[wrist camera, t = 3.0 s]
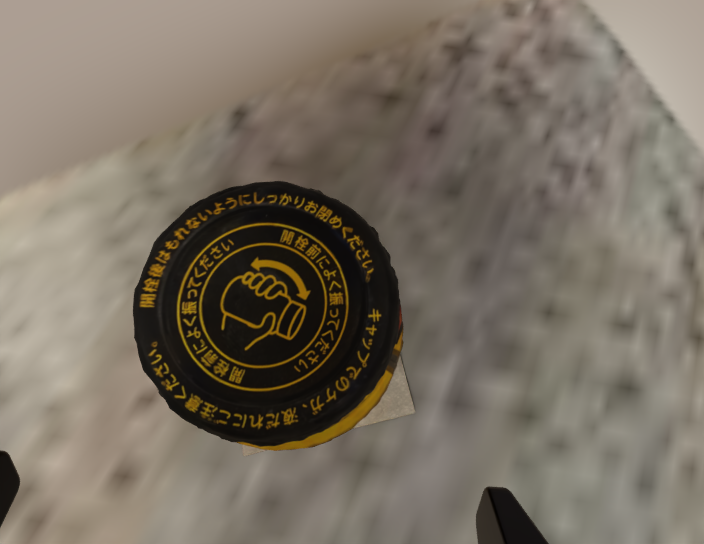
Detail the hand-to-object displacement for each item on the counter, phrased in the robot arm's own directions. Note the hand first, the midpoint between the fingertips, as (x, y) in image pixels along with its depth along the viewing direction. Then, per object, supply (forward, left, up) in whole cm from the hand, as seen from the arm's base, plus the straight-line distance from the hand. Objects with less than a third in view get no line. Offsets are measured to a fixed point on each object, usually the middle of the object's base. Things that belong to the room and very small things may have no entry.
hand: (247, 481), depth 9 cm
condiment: (+3, +3, -11) cm, 12 cm away
